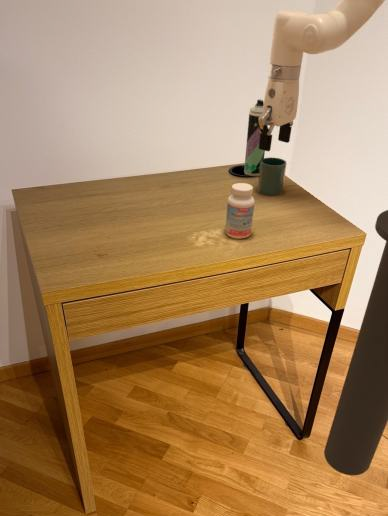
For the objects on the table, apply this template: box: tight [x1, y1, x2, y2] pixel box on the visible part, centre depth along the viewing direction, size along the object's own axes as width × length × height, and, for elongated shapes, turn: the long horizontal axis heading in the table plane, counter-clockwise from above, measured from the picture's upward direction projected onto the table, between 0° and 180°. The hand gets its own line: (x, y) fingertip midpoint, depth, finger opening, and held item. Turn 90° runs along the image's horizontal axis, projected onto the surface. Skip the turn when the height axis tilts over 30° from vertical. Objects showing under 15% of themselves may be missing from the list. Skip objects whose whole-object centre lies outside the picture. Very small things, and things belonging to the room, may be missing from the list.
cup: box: [257, 157, 287, 197], centre depth 134 cm, size 7×7×8 cm
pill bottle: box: [224, 182, 255, 240], centre depth 112 cm, size 6×6×11 cm
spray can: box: [243, 99, 269, 177], centre depth 141 cm, size 6×6×20 cm
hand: (274, 145), depth 129 cm, fingers open, 9 cm apart
